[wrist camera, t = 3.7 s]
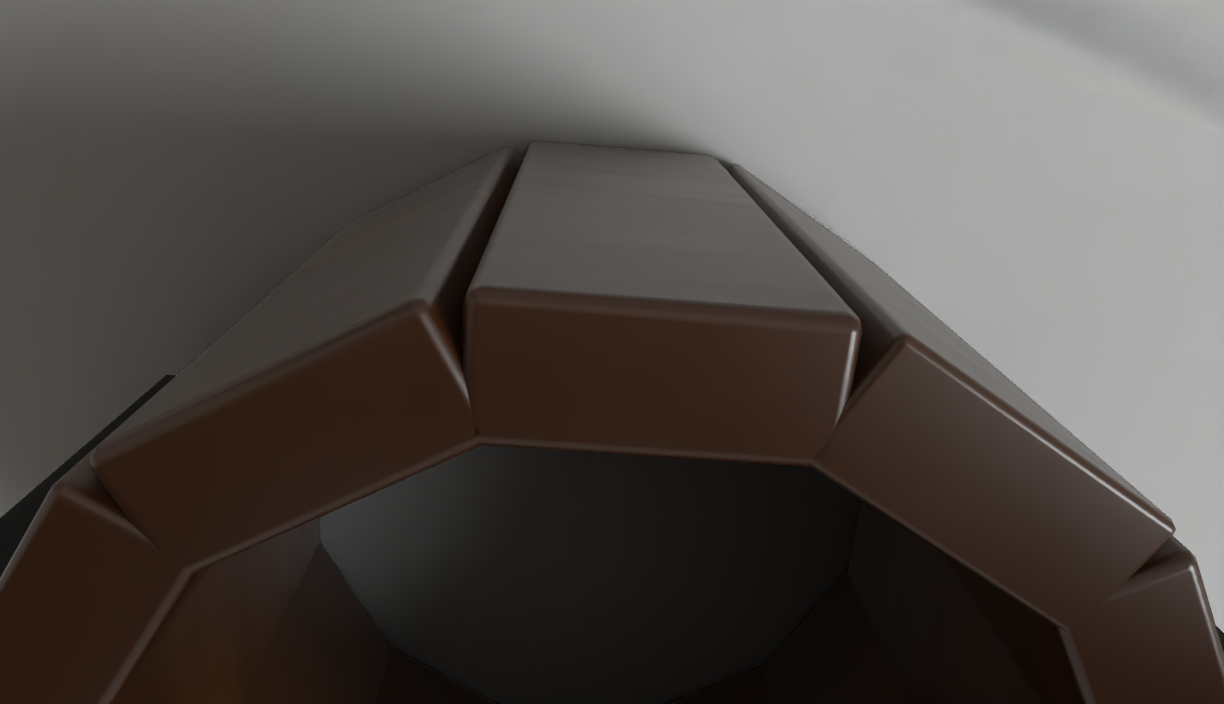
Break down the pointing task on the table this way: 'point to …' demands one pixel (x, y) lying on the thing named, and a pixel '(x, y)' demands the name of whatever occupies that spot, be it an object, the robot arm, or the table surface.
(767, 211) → the brown wooden hollow cylinder
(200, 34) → the table surface
